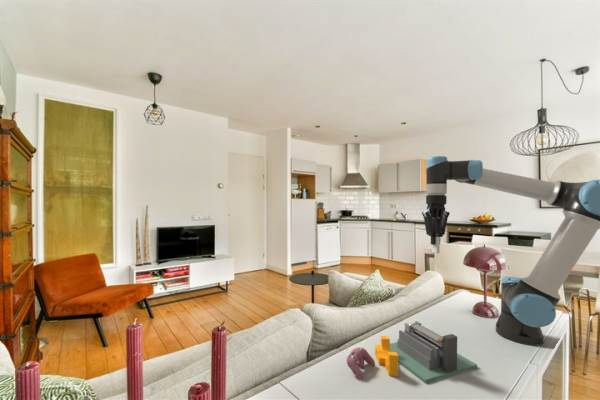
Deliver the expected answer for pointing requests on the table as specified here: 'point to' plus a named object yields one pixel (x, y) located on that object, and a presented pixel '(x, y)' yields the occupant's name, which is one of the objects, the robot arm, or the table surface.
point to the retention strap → (427, 334)
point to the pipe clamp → (387, 356)
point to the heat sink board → (429, 355)
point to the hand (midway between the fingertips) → (435, 252)
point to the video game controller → (359, 361)
